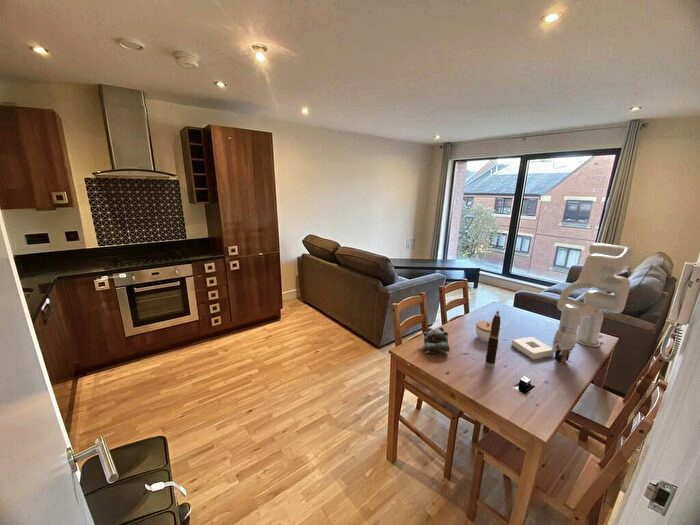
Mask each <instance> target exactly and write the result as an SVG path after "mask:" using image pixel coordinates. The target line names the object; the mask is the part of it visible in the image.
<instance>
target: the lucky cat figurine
mask: <svg viewBox="0 0 700 525" xmlns="http://www.w3.org/2000/svg"><path fill="white" fill-rule="evenodd" d="M422 333H423V334H422V335H423V343H424V345H422V346H423V348H422V349H423V352H424V354H430V353H431V354H440V353H449V352H450V349H451V348H450V345H449V341H448V340H449V339H448V338H449V337H448V336H449V332H448V331H445V330H444V328H443V327H440V328H433V329H432V328H431V327H430V328H428V329H427V330H426V331H424V332H422Z"/></svg>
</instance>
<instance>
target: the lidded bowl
mask: <svg viewBox="0 0 700 525" xmlns="http://www.w3.org/2000/svg"><path fill="white" fill-rule="evenodd" d="M475 326H476V327H475V333H476V336H477V337H478V338H479V340H480V341H481V342H484V343H488V341H489V338H490V333H491V326H492V321H489V320H487V321H486V320H479V321H477V322H476V323H475ZM500 329H501V328H500ZM500 329H499V331H500Z"/></svg>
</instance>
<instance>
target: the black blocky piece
mask: <svg viewBox="0 0 700 525" xmlns="http://www.w3.org/2000/svg"><path fill="white" fill-rule="evenodd" d="M535 387H536V386H535V385H534V384H531V379H530V378H528V377H527V376H523V377H521V378H520V380H519V382H518V383H517V384H515V385H514V386H512V389H515V390H517V391H518V392H520V393H522V394H523V395H527V394H529V392H530V391H531V390H533V389H534V388H535Z"/></svg>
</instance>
